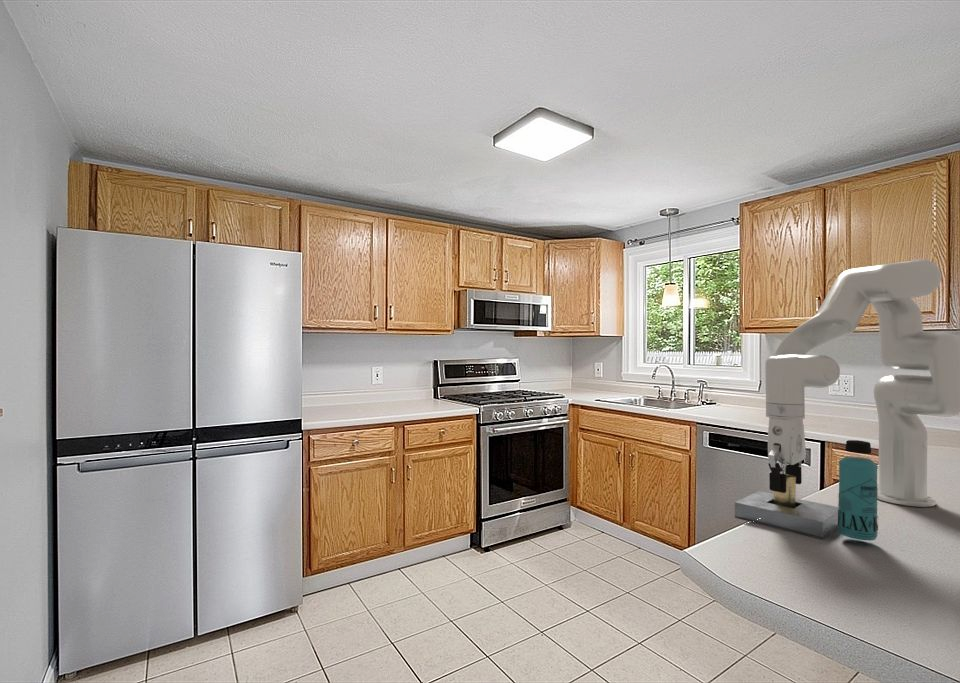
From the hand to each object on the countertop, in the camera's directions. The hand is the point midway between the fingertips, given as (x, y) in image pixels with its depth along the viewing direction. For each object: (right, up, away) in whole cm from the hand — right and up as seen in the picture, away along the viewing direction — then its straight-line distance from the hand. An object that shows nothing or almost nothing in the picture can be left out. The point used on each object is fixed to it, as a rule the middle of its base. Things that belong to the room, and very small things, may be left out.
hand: (785, 487), depth 115 cm
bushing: (0, -7, 0) cm, 7 cm away
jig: (-1, -7, -2) cm, 7 cm away
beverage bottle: (+6, -7, -14) cm, 17 cm away
